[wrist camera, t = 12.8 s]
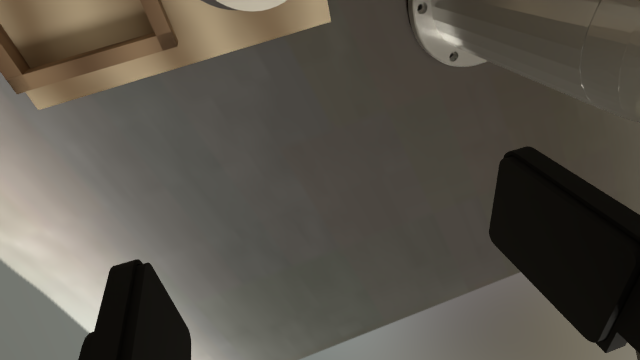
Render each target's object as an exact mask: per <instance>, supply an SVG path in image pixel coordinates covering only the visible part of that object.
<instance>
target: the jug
mask: <svg viewBox="0 0 640 360" xmlns="http://www.w3.org/2000/svg"><path fill="white" fill-rule="evenodd" d="M216 1H217V2H219V3H221V4H223V5H225V6H227V7H230V8H233V9H237V10H242V11H252V12H253V11H263V10H267V9H271V8H273V7H276V6H278V5H280V4H282V3H284V2H285V1H287V0H216Z"/></svg>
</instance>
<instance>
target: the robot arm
mask: <svg viewBox="0 0 640 360" xmlns="http://www.w3.org/2000/svg"><path fill="white" fill-rule="evenodd" d="M418 6H419V8H418ZM408 14H409V19H410V23H411V28H412V30H413V33H414V35H415V37H416V40H417V41H418V43H419V44H420V45H421V47H422V48H423V50H425V51H426V52H427V53H428V54H429V55H430V56H431V57H433V58H435V59H437V60H438V61H440V62H442V63H445V64H447V65H450V66H458V67H467V66H475V65H478V64H481V63H484V62H487V61H489V62H492V63H494V64H496V65H499V66H501V67H503V68H506V69H508V70H510V71H513V72H515V73H517V74H520V75H522V76H524V77H527V78H529V79H531V80H534V81H536V82H538V83H541V84H543V85H545V86H548V87H550V88H553V89H555V90H557V91H560V92H562V93H564V94H567V95H569V96H571V97H574V98H576V99H578V100H581V101H583V102H585V103H588V104H590V105H593V106H595V107H598V108H600V109H603V110H605V111H608V112H610V113H612V114H615V115H617V116H620V117H622V118H625V119H628V120H631V121H635V122H639V123H640V0H408ZM489 235H490V238H491V240H492V242H493V243H494V244H495V246H496V247H497V248H498V249H499V250H500V251H501V252H502V253H503V254H504V255H505V256H506V257H507V258H508V259H509V260H510V261H511V262H512V263H513V264H514V265H515V266H516V267H517V268H518V269H519V270H520V271H521V272H522V273H523V274H524V275H525V276H526V277H527V279H529V281H530V282H531V283H532V284H533V285H534V286H535V287H536V288H537V289H538V290H539V291H540V292H541V293H542V294H543V295H544V296H545V297H546V298H547V299H548V300H549V301H550V302H551V303H552V304H553V305H554V306H555V308H556V309H557V310H558V311H559V312H560V313H561V314H562V315H563V316H564V317H565V318H566V319H567V320H568V321H569V322H570V323H571V324H572V325H573V326H574V327H575V328H576V329H577V330H578V331H579V332H580V333H581V334H582V335H583V336H584V337H585V338H586V339H587V340H589V341H591V342H594V343H596V344H597V345H598V346H599V347H600V348H601V349H602V350H603V351H604V352H605V353H608V352H610V351H613V350H615V349H618V348H620V347H623V346H625V345H626V343H627V342H628V343H629V344H630V345H631V346H632V347H633V348H634V349H635V350H636V353H637V359H638V360H640V215H639V214H637V213H636V212H634V211H632V210H631V209H629V208H628V207H626V206H624V205H623V204H621V203H620V202H618V201H617V200H615V199H613V198H612V197H610V196H609V195H607V194H605V193H604V192H602V191H601V190H599V189H597V188H596V187H594V186H593V185H591V184H590V183H588V182H586V181H585V180H583V179H582V178H580V177H578V176H577V175H575V174H574V173H572V172H571V171H569V170H567V169H566V168H564V167H563V166H561V165H559V164H558V163H556V162H555V161H553V160H551V159H550V158H548V157H547V156H545V155H544V154H542V153H540V152H539V151H537V150H536V149H534V148H532V147H523V148H520V149H516V150H513V151H509V152H507V153H506V154H505V155H504V158H503V159H502V160H501V161H500V164H499V171H498V177H497V183H496V190H495V196H494V203H493V209H492V216H491V222H490V228H489ZM78 360H191V337H190V333H189V330H188V328H187V326H186V324H185V322H184V321H183V319H182V317H181V315H180V314H179V312H178V310H177V308H176V307H175V305H174V303H173V302H172V300H171V298H170V296H169V295H168V293H167V291H166V289H165V288H164V286H163V284H162V283H161V281H160V279H159V277H158V276H157V274H156V272H155V270H154V269H153V267H152V266H151V264H150V263H145V264H143V263H142V262H141V261H140V260H133V261H130V262H126V263H123V264H119V265H116V266H113V267H112V268H111V269H110V271H109V275H108V279H107V283H106V287H105V291H104V295H103V299H102V303H101V307H100V311H99V315H98V319H97V323H96V326H95V330H94V332H92V333H89V334H88V335H87V337H86V338H85V340H84V342H83V345H82V348H81V352H80V356H79V359H78Z"/></svg>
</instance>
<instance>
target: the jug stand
mask: <svg viewBox="0 0 640 360" xmlns="http://www.w3.org/2000/svg"><path fill="white" fill-rule="evenodd" d="M328 22H331V18H330V13H329V8H328V2H327V0H287V1H285V2H284V3H282V4H280V5H278V6H276V7H273V8H271V9H267V10H263V11H253V12H252V11H242V10H237V9H233V8H230V7H227V6H225V5H223V4H221V3H219V2H217V1H216V0H0V72H1V73H2V75H3V76H4V77H5V79H6V80H7V81H8V83H9V84H10V85H11V87H12V88H13V90H14V91H15V92H16V94H19V93H23V92H26V94H27V95H28V96H29V98H30V99H31V101H32V102H33V103H34V105H35V106H36V108H37V109H38V110H40V109H43V108H47V107H50V106H53V105H57V104H60V103H63V102H67V101H70V100H73V99H76V98H80V97H83V96H86V95H90V94H93V93H96V92H100V91H103V90H106V89H110V88H113V87H116V86H119V85H123V84H126V83H129V82H133V81H136V80H139V79H143V78H146V77H149V76H153V75H156V74H159V73H163V72H166V71H169V70H172V69H176V68H179V67H182V66H186V65H189V64H192V63H196V62H199V61H202V60H206V59H209V58H212V57H215V56H219V55H222V54H225V53H229V52H232V51H235V50H239V49H242V48H245V47H249V46H252V45H255V44H258V43H262V42H265V41H268V40H272V39H275V38H278V37H282V36H285V35H288V34H292V33H295V32H298V31H301V30H305V29H308V28H311V27H315V26H318V25H321V24H325V23H328Z"/></svg>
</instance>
